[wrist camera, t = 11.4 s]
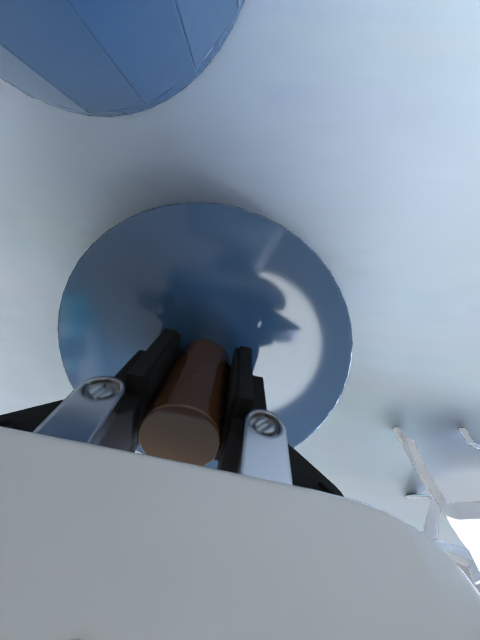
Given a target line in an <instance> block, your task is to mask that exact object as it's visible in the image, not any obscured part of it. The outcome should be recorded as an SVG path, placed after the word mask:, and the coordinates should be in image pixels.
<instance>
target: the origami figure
mask: <svg viewBox="0 0 480 640" xmlns="http://www.w3.org/2000/svg"><path fill="white" fill-rule="evenodd" d="M459 431H460V433H461V434H462V435H463V437H464V438H465V440H466V441H467V443H468V444H469V445H470V446H472V447H474V448H477V449H479V450H480V445H479V444H475V442H474V441H473V439H472V438H471V436H470V435H469V433H468V431H467V430H466V428H459ZM393 432H394V434H395V435H396V437H397V438H398V439H399V441H400V442H401V444H402V446H403V447H404V449H405V451H406V453H407V455H408V457H409V459H410V461H411V463H412V465H413V467H414V469H415V470H416V472H417V474H418V476H419V477H420V479H421V480H422V482H423V483H424V485H425V486H426V488H427V489H428V491H429V492H430V494H431V495H429V494H414V495H407V496H406V498H405V499H432V501H431V504H430V508H429V511H428V514H427V517H426V520H425V523H424V527H423V530H422V533H423V534H425V535H426V536H427V537H429V538H430V539H431V540H433V541H434V542H435V543H437V544H438V545H439V546H440V547H441V548H442V549H443V550H444V551H445V552H446V553H447V554H448V555H449V556H450V557H451V558H452V559H453V560H454V561H455V562H456V563H459V564H461V565H464V566H466V567H468V568H469V571H470V575H471V578H472V581H473V585H474V584H480V501H478V502H455V503H448V502H447V501H446V500H445V498H444V497H443V495H442V493H441V492H440V490H439V488H438V487H437V485H436V484H435V482H434V480H433V479H432V477H431V475H430V474H429V472H428V470H427V469H426V466H425V464H424V462H423V460H422V458H421V456H420V453H419V451H418V449H417V447H416V445H415V443H414V440H413V439H407V438H406V436H405V435H404V433H403V431H402V430H401V428H400V427H394V429H393ZM441 510H442V512H443V513H444V515H445V517H446V518H447V520H448V521H449V523H450V525H451V526H452V527H453V529H454V530H455V532H456V533H457V535H458V536H459V538H460V539H461V541H462V542H463V543H464V544H465V546H466V547H467V548H468V549H467V548H463V547H460V546H456V545H453V544H450V543H446V542H443V541H440V540H438V533H439V524H440V516H441Z"/></svg>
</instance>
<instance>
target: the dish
mask: <svg viewBox="0 0 480 640" xmlns="http://www.w3.org/2000/svg"><path fill="white" fill-rule="evenodd" d="M244 1H245V0H0V78H2V79H3V80H5V81H6V82H8V83H9V84H11V85H12V86H14V87H16V88H17V89H19V90H20V91H22V92H23V93H25V94H26V95H28V96H30V97H32V98H35V99H38V100H41V101H43V102H45V103H47V104H49V105H52V106H54V107H57V108H60V109H63V110H66V111H68V112H73V113H78V114H83V115H88V116H107V117H111V116H119V115H128V114H133V113H136V112H139V111H143V110H146V109H149V108H151V107H154V106H156V105H158V104H160V103H162V102H164V101H166V100H168V99H169V98H171V97H172V96H174V95H175V94H176V93H178V92H179V91H181V90H182V89H184V88H185V87H186V86H187V85H188V84H189V83H190V82H192V81H193V80H194V79H195V78H196V77H197V76H198V75H199V74H200V73H201V72H202V71H203V70H204V68H205V67H206V66H207V65H208V63H209V62H210V61H211V60H212V58H213V57H214V56H215V55H216V53H217V52H218V51H219V49H220V47H221V46H222V44H223V42H224V41H225V39H226V37H227V36H228V34H229V33H230V31H231V29H232V27H233V25H234V23H235V21H236V19H237V16H238V14H239V12H240V10H241V8H242V6H243V3H244Z"/></svg>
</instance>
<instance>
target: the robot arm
mask: <svg viewBox="0 0 480 640" xmlns="http://www.w3.org/2000/svg"><path fill="white" fill-rule="evenodd" d="M180 340H181V335H180V334H178V332H177V331H176V330H171V329H167V328H165V329H164V331H163V332H162V333H161V334H160V335H159V336H158V337H157V339H156V340H155V341H154V342H153V343H152V344H151V345H150V347H149V348H148V349H147V350H146V351H143V350H139V351H138V352H137V353H136V354H135V355H134V356H133V357H132V358H131V359H130V360H129V361H128V362H127V363H126V364H125V366H124V367H123V368H122V369H121V370H120V371H119V372H118V373H117V374H116V375H115V376H114V377H113V376H97V377H92V378H89V379H87V380H85V381H83V382H82V383H81V384H79V385H78V386H77V387H76V388H75V389H74V390H73V391H72V392H71V393H70V394H69V395H68V396H67V397H66V398H65V399H64V400H60V401H56V402H52V403H48V404H44V405H40V406H36V407H32V408H28V409H24V410H20V411H16V412H12V413H8V414H4V415H0V640H480V593H479V591H478V590H477V589H476V588H475V586H474V585H473V583H472V582H471V581H470V580H469V579H468V577H467V576H466V575H465V573H464V572H463V571H462V570H461V568H460V567H459V566H458V565H457V564H456V562H455V561H454V560H453V559H452V558H451V557H450V556H449V555H448V554H447V553H446V552H445V551H444V550H443V549H442V548H441V547H440V546H439V545H438V544H437V543H435V542H434V541H433V540H431V539H430V538H429V537H427V536H426V535H425V534H423V533H422V532H420V531H419V530H417V529H416V528H414V527H413V526H411V525H409V524H408V523H406V522H404V521H402V520H400V519H399V518H397V517H395V516H393V515H392V514H390V513H387V512H385V511H383V510H380V509H378V508H376V507H374V506H371V505H369V504H366V503H363V502H360V501H357V500H354V499H350V498H346V497H344V496H343V495H342V493H341V492H340V491H339V490H338V488H337V487H336V486H335V485H334V484H332V483H331V482H330V481H329V480H328V479H327V478H326V477H325V476H324V475H323V474H321V473H320V472H319V471H318V470H317V469H316V468H315V467H314V466H313V465H311V464H310V463H309V462H308V461H307V460H306V459H305V458H304V457H303V456H301V455H300V454H299V453H298V452H297V451H296V450H295V449H294V448H293V447H291V446H290V445H289V444H288V443H287V435H286V428H285V425H284V423H283V421H282V420H281V419H280V418H279V417H278V416H277V415H276V414H274V413H272V412H270V411H268V410H267V406H266V398H265V389H264V381H263V377H259V376H254V375H253V368H252V348H249V347H245V346H240V348H235V351H234V355H233V359H232V363H231V366H230V373H229V382H228V390H227V398H226V407H225V415H224V423H223V435H222V443H221V447H220V450H219V452H218V454H217V455H216V457H215V458H214V459H213V460H216V461H218V467H217V469H213V468H208V467H204V466H199V465H194V464H189V463H184V462H179V461H174V460H169V459H164V458H159V457H154V456H149V455H144V454H139V453H134V452H135V450H136V449H137V447H138V445H140V444H139V440H138V427H139V424H140V422H141V420H142V418H143V416H144V414H145V413H146V411H147V409H148V407H149V406H150V404H151V402H152V400H153V399H154V397H155V395H156V393H157V392H158V390H159V388H160V386H161V385H162V383H163V381H164V379H165V378H166V376H167V374H168V372H169V371H170V369H171V367H172V365H173V364H174V362H175V360H176V358H177V356H178V351H179V345H180Z"/></svg>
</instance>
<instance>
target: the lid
mask: <svg viewBox="0 0 480 640" xmlns="http://www.w3.org/2000/svg"><path fill="white" fill-rule="evenodd" d="M165 328H167V329H171V330H176V331H177V332H178V334H180V335H181V340H180V345H179V351H178V356H177V358H176V360H175V362H174V364H173V365H172V367H171V369H170V371H169V372H168V374H167V376H166V378H165V379H164V381H163V383H162V385H161V386H160V388H159V390H158V392H157V393H156V395H155V397H154V399H153V400H152V402H151V404H150V406H149V407H148V409H147V411H146V413H145V414H144V416H143V418H142V420H141V422H140V424H139V427H138V440H139V444H140V445H138V447H137V449H136V451H138V452H141V453H143V454H145V455H149V456H154V457H159V458H164V459H169V460H174V461H179V462H184V463H189V464H194V465H199V466H204V467H208V468H213V469H217V467H218V461H216V460H213V459H214V458H215V457H216V455H217V454H218V452H219V450H220V447H221V443H222V435H223V423H224V415H225V407H226V398H227V390H228V382H229V373H230V366H231V363H232V359H233V355H234V351H235V348H240V346H245V347H249V348H252V368H253V375H254V376H259V377H263V381H264V389H265V398H266V406H267V410H268V411H270V412H272V413H274V414H276V415H277V416H278V417H279V418H280V419H281V420H282V421H283V423H284V425H285V428H286V435H287V443H288V444H289V445H290V446H291V447H295V446H297V445H298V444H300V443H301V442H303V441H304V440H305V439H306V438H307V437H309V436H310V435H311V434H312V433H313V432H314V431H315V430H316V429H317V428H318V427H319V426H320V425H321V424H322V423H323V422H324V421H325V420H326V418H327V417H328V415H329V414H330V413H331V411H332V410H333V409H334V407H335V405H336V403H337V401H338V400H339V398H340V396H341V394H342V392H343V389H344V386H345V384H346V381H347V378H348V374H349V370H350V365H351V359H352V344H353V342H352V330H351V322H350V318H349V314H348V309H347V306H346V303H345V301H344V298H343V295H342V293H341V290H340V288H339V286H338V285H337V283H336V281H335V279H334V278H333V276H332V274H331V272H330V271H329V269H328V268H327V267H326V266H325V264H324V263H323V262H322V261H321V259H320V258H319V257H318V256H317V254H316V253H315V252H314V251H313V250H312V249H311V248H309V247H308V246H307V245H306V244H305V243H304V242H303V241H302V240H301V239H300V238H298V237H297V236H296V235H294V234H293V233H291V232H290V231H288V230H287V229H286V228H284V227H283V226H281V225H279V224H277V223H275V222H273V221H271V220H269V219H267V218H266V217H264V216H262V215H259V214H256V213H253V212H250V211H247V210H244V209H241V208H238V207H233V206H228V205H223V204H217V203H201V202H188V203H178V204H169V205H165V206H161V207H157V208H153V209H149V210H146V211H144V212H141V213H139V214H137V215H134V216H132V217H129V218H127V219H125V220H124V221H122V222H120V223H119V224H117V225H116V226H114V227H112V228H111V229H109V230H108V231H107V232H106V233H104V234H103V235H102V236H101V237H100V238H99V239H97V240H96V241H95V242H94V243H93V244H92V245H91V246H90V247H89V249H88V250H87V251H86V252H85V253H84V255H83V256H82V257H81V258H80V259H79V261H78V263H77V265H76V266H75V268H74V270H73V271H72V273H71V275H70V276H69V279H68V282H67V284H66V287H65V289H64V292H63V295H62V299H61V304H60V308H59V316H58V340H59V349H60V353H61V358H62V362H63V366H64V368H65V371H66V374H67V376H68V379H69V381H70V383H71V385H72V387H73V389H75V388H76V387H77V386H78V385H79V384H81V383H82V382H83V381H85V380H87V379H89V378H92V377H97V376H113V377H114V376H115V375H116V374H117V373H118V372H119V371H120V370H121V369H122V368H123V367H124V366H125V364H126V363H127V362H128V361H129V360H130V359H131V358H132V357H133V356H134V355H135V354H136V353H137V352H138V351H139V350H143V351H146V350H147V349H148V348H149V347H150V345H151V344H152V343H153V342H154V341H155V340H156V339H157V337H158V336H159V335H160V334H161V333H162V332H163V331H164V329H165Z"/></svg>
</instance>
